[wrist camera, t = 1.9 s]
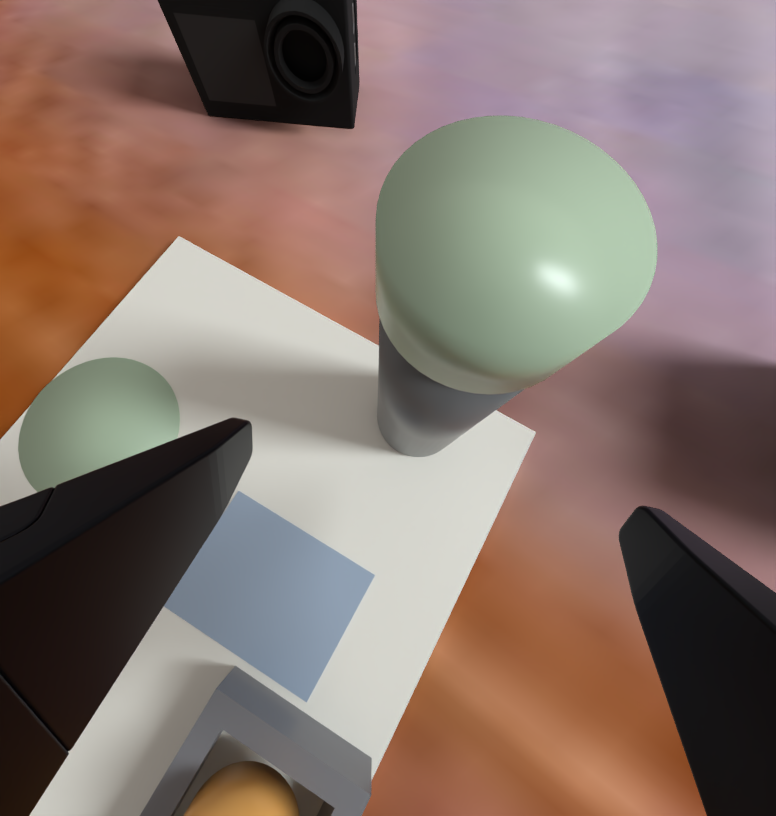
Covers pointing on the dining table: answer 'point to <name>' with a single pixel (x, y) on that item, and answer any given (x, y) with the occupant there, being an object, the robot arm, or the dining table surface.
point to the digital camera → (271, 57)
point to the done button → (244, 793)
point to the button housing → (269, 748)
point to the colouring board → (261, 522)
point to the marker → (498, 270)
